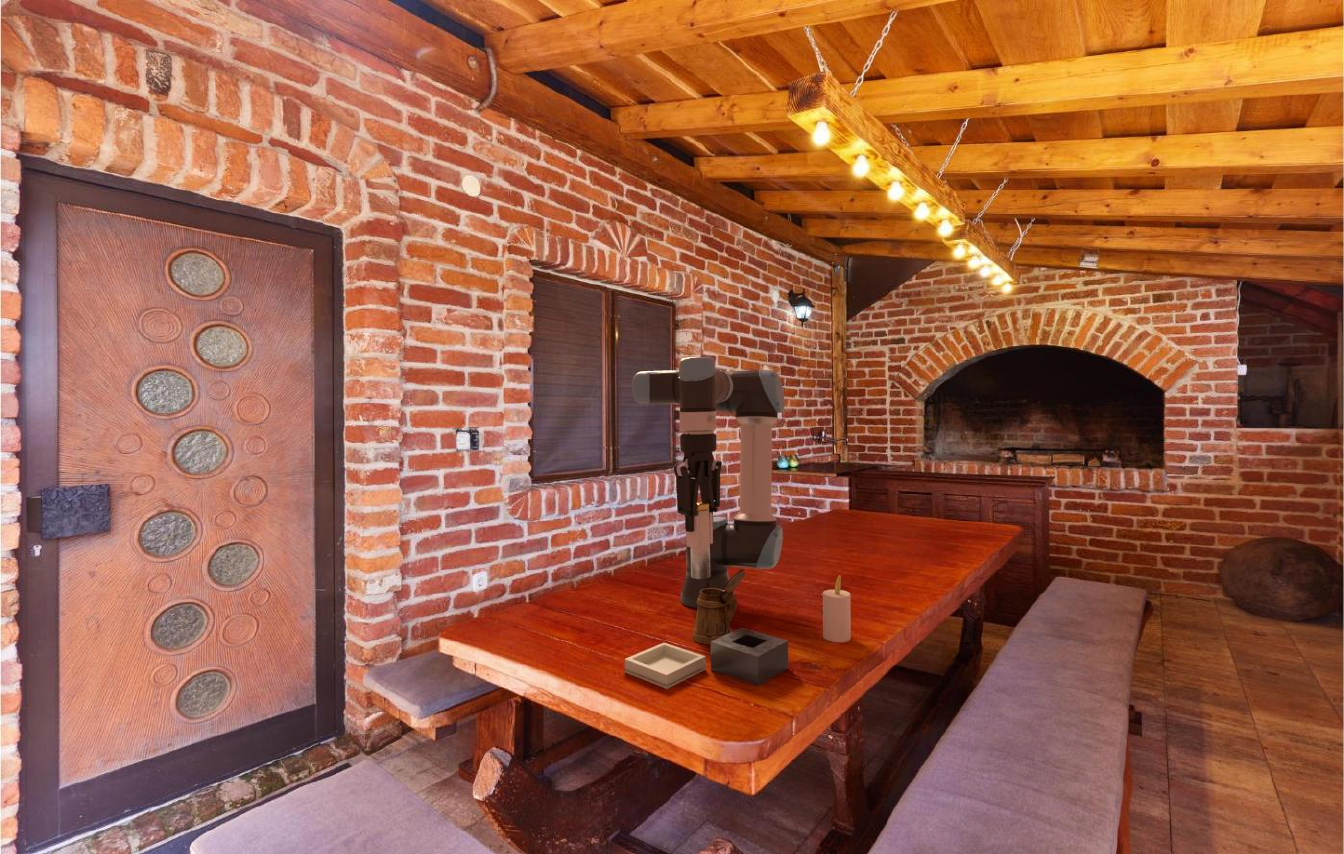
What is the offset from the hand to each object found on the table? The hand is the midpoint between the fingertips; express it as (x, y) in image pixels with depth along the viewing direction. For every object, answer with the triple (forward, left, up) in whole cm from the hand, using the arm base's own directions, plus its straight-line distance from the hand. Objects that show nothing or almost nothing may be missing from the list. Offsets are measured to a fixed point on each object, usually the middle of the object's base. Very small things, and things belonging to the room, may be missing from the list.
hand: (699, 544), depth 134 cm
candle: (+12, +35, -27) cm, 46 cm away
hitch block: (+7, +7, -27) cm, 28 cm away
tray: (-6, -5, -27) cm, 28 cm away
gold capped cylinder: (0, 0, -7) cm, 7 cm away
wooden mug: (-8, +16, -27) cm, 32 cm away
